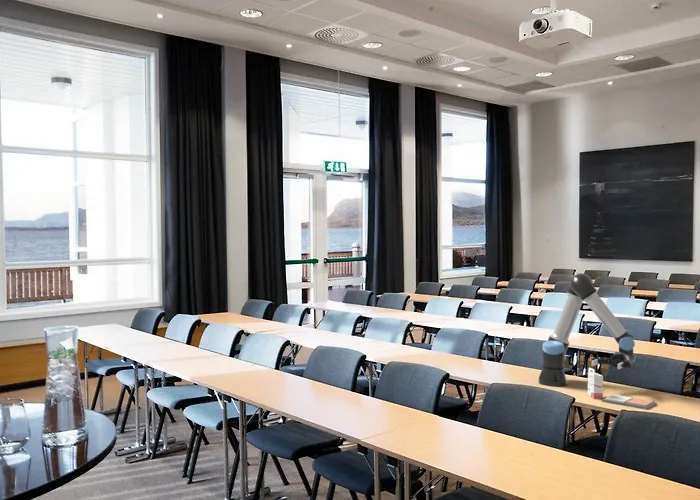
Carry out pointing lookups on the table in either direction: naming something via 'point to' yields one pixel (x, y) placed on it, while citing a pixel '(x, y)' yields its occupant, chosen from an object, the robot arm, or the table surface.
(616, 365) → the robot arm
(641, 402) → the tile board
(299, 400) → the table surface
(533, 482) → the table surface
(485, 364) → the table surface
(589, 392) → the ink cartridge box
